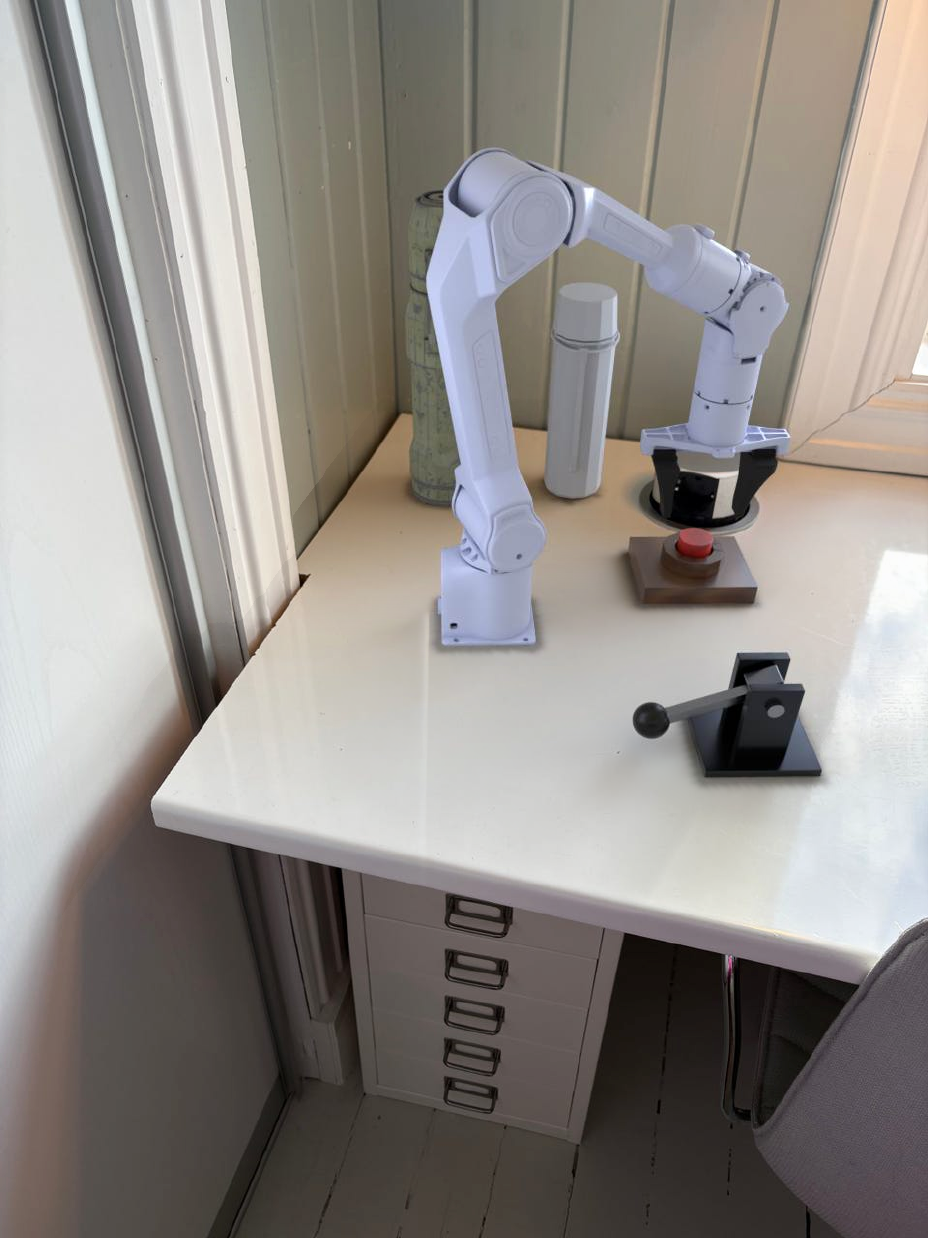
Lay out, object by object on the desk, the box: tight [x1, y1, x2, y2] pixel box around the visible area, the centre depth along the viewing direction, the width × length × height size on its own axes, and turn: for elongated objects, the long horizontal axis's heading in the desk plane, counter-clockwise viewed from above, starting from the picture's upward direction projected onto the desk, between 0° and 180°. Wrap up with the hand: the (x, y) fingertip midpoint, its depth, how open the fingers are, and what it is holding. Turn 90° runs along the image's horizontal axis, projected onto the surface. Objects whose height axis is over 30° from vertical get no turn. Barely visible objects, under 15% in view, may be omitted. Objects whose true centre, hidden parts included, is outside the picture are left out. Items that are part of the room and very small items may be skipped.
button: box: [677, 527, 713, 558], centre depth 100 cm, size 4×4×2 cm
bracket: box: [686, 651, 823, 779], centre depth 80 cm, size 10×8×9 cm
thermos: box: [404, 189, 461, 507], centre depth 108 cm, size 9×12×35 cm
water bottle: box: [543, 281, 621, 500], centre depth 110 cm, size 9×8×25 cm
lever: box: [631, 665, 785, 740], centre depth 80 cm, size 13×3×3 cm, turn 91°
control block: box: [627, 530, 759, 605], centre depth 102 cm, size 12×10×4 cm
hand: (700, 512), depth 98 cm, fingers open, 7 cm apart
